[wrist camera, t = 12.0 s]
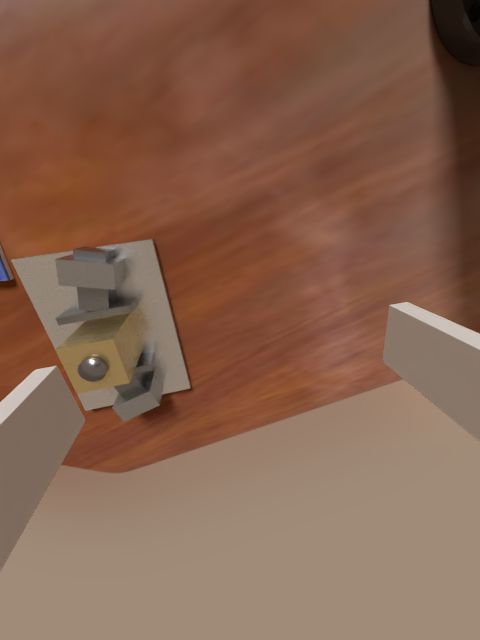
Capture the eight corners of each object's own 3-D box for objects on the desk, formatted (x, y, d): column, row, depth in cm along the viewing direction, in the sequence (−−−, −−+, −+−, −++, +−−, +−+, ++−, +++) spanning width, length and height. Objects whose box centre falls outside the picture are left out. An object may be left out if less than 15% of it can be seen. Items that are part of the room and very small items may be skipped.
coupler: (101, 356, 30) (74, 397, 23) (86, 320, 28) (51, 353, 21) (142, 349, 31) (128, 386, 24) (130, 312, 29) (111, 342, 22)
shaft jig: (17, 255, 26) (-22, 264, 21) (153, 236, 27) (144, 239, 23) (89, 406, 34) (73, 436, 29) (190, 384, 36) (190, 410, 31)
